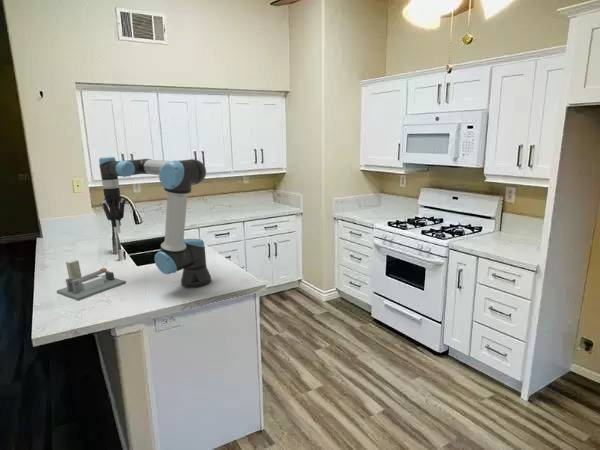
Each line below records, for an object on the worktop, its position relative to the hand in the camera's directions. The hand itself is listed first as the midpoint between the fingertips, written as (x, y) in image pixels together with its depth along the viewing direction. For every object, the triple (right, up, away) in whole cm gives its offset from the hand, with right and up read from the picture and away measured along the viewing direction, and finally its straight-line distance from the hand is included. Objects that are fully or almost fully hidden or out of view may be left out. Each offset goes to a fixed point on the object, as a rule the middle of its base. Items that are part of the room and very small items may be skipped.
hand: (117, 232), depth 204 cm
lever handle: (-12, -22, -5) cm, 26 cm away
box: (-27, -26, +9) cm, 39 cm away
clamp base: (-11, -28, -4) cm, 31 cm away
